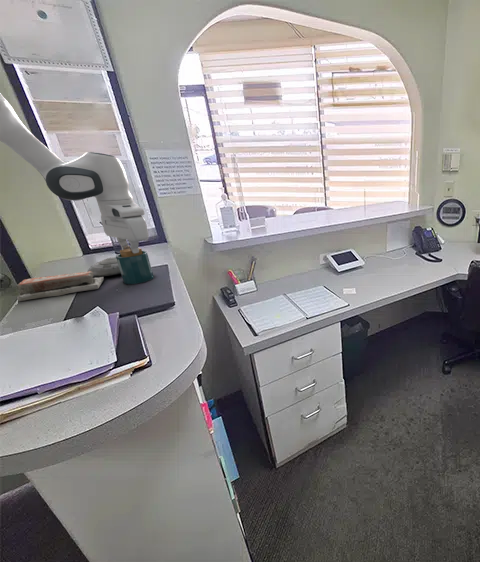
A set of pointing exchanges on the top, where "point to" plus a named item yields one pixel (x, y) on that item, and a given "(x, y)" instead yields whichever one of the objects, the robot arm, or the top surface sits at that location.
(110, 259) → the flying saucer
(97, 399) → the top surface
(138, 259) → the tea cup
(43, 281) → the packaged product
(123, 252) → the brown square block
